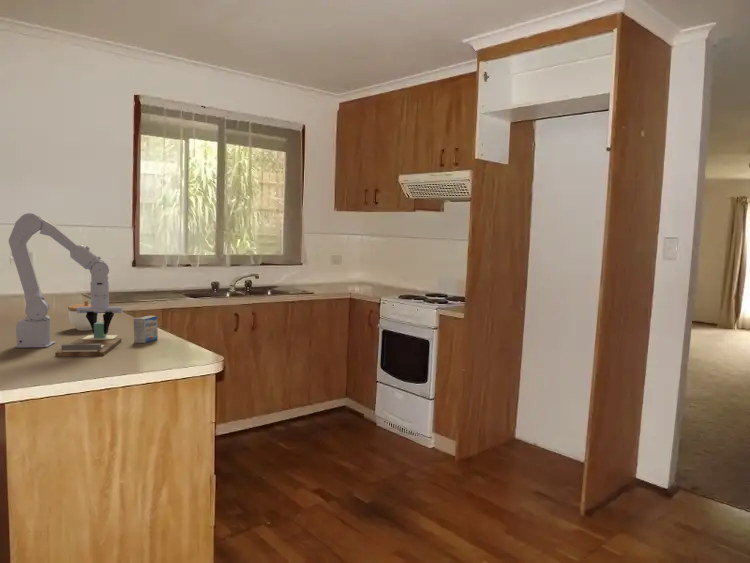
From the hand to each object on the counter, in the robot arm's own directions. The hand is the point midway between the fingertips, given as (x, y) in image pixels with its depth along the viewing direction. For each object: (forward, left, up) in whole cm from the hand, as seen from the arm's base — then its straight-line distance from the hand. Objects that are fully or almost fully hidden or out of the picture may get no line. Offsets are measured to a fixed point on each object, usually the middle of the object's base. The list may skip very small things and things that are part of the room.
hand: (100, 333), depth 198 cm
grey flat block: (0, -17, -2) cm, 18 cm away
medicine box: (+15, +1, -3) cm, 15 cm away
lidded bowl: (-12, +26, -3) cm, 28 cm away
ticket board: (0, -11, -3) cm, 12 cm away
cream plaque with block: (0, 0, -2) cm, 2 cm away
